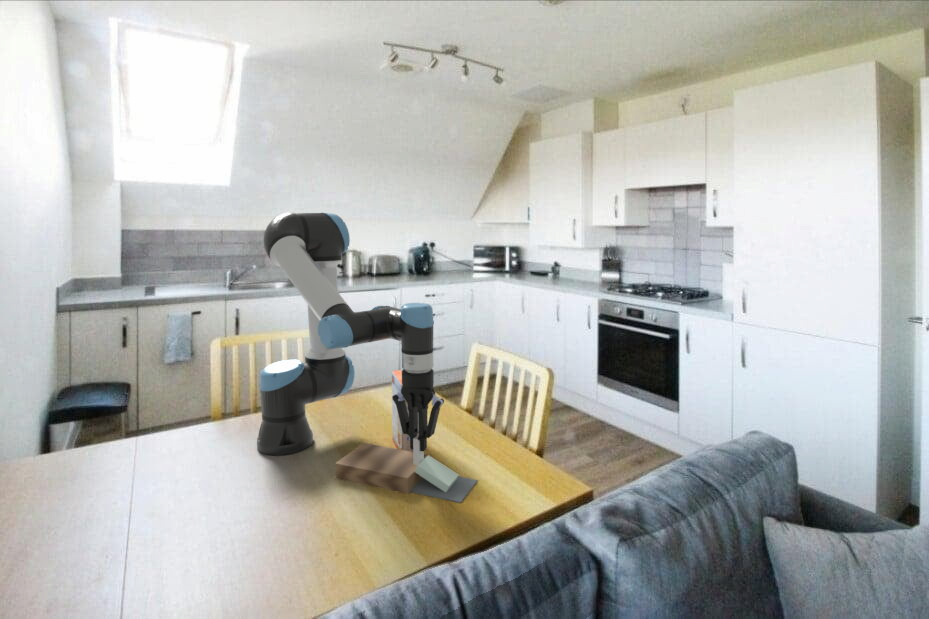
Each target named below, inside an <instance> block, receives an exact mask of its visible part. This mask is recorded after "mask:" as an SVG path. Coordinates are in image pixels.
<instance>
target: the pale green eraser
mask: <svg viewBox="0 0 929 619" xmlns="http://www.w3.org/2000/svg"><path fill="white" fill-rule="evenodd" d="M427 455H428V456H427V457H426V458H425V459H424V460H423V461H422V462H421V463H420V464H418V465H417V468H416V470H415V473H417V474H418V475H420V476H421V477H423V478H424V479H426V480H427V481H429V482H430V483H432V484H433V485H435V486H437V487H438V488H440V489H441V490H443V491H444V492H447V491H448V490H449V489H450V487H451V486H452V485H453V484H454V483H455V482H456V480H457V478H458V476H460V474H458V473H456V472H455V471H454V470H452V469H451V468H449V467H448V466H446V465H444V464H443V463H441V462H440V461H439V460H437V459H435V458H433V457H432V456H431V457H430V456H429V455H430V454H427Z"/></svg>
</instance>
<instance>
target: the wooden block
mask: <svg viewBox="0 0 929 619" xmlns="http://www.w3.org/2000/svg"><path fill="white" fill-rule="evenodd" d="M428 455H429V456H430V457H432V454H427V453H424V459H425V458H426V457H427V456H428ZM334 467H335V479H338V480H341V481H342V480H343V481H347V482H350V483H355V484H361V485H365V486H369V487H373V488H378V489H382V490H387V491H392V492H397V493H401V494H405V495H409V494H410V493H411V492H410V490H411V489H412V488H413V487H414V486H415V485H416V484H417V483H418V482H419V481H420V480H421V479H422V478H423V477H421V476H420V475H418V474H417V473H415V470H416V468H417V465H416V464H413V452H411V451H405V450H400V449H397V448H394V447H390V446H389V447H388V446H383V445H378V444H372V443H367V442H363V443H362V444H360V445H359V446H357V447H356V448H354V449H353V450H351V451H350V452H349V453H347V454H346V455H345V456H343V457H341V458H340V459H339V460H337V461H336V462H335V466H334Z"/></svg>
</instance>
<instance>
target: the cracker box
mask: <svg viewBox="0 0 929 619" xmlns="http://www.w3.org/2000/svg"><path fill="white" fill-rule="evenodd" d="M402 370H403V369H400V370H392V371H391V421H392V422H391V424H392V428H391V430H392V431H391V435H392V436H391V437H392V441H393V444H394V445H395V447H396V449H400V450H405V451H411V452H413V450H412V449H411V448H410V436H409V435H407V434H403V432H402V428H401V424H400V419H399V415H398V411H397V406H396V404H395V402H394V400H393V398H392V396H393V395H395V394H397V393H400V392H401V389H402V386H403V385H402ZM404 400H405V398H404ZM405 403H406V407H407V412H408V416H409V411H408V403H407V402H406V400H405ZM418 431H419V418H418ZM417 435H419V433H418V434H417Z"/></svg>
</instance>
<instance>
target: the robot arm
mask: <svg viewBox="0 0 929 619" xmlns="http://www.w3.org/2000/svg"><path fill="white" fill-rule="evenodd" d="M349 246H350V232H349V229H348V226H347V224H346V222H345V221H344V220H343V218H342V217H341V216H339V215H338V214H335V213H328V212H296V213H295V212H284V213H282V214H280V215H278V216H276V217H275V218H273V219H272V220H271V221H270V222H269V223H268V225H267V226H266V229H265V231H264V233H263V247H264V251H265V253H266V255H267V257H268V258H269V259H270V261H271V262H272V264H274V265H275V266H277V267H280V268H281V269H282V271H283V272H284V274H285V275H286V276H287V277H288V279H289V280H290V282H291V283H292V285H293V286H294V287H295V289H296V291H298V293H299V294H300V296H301V297H302V298H303V300H304V302H306V304H307V317H308V318H307V319H308V320H307V321H308V338H309V339H308V340H309V350H308V351H306V352H305V354H304V362H303V361H302V360H300V359H296V358H295V359H293V358H291V359H287V360H286V359H282V360H278V361H275V362H273V363H270V364H268V365H266V366H265V367H264V368H262V370H261V371H260V373H259V385H258V387H259V393H260V406H261V424H260V428H259V431H258V436H257V438H256V448H257V450H258V451H259V452H260V453H262V454H265V455H270V456H284V455H285V456H286V455H291V454H295V453H299V452H301V451H303V450H305V449H308V448H309V447H311V445H312V444H313V443H314V433H313V431H312V429H311V427H310V424H309V421H308V418H307V415H306V405H308V404H311V403H315V402H319V401H322V400H326V399H331V398H337V397H339V396H340V395H344V394H346V393H348V392H349V390H351V388H352V387H353V384H354V381H355V367H354V364H353V361H352V359H351V358H350V357H349V356H348V355H346V351H345V350H344V349H345V348H348V347H353V346H356V345H362V344H366V343H367V344H368V343H373V342H378V341H384V340H388V339H389V340H390V339H391V340H395V341H400V344H401V347H400V348H401V349H400V350H401V368H402V369H401V370H402V385H403V386H402V389H401V392H400V393H397V394H395V395H393V396H392V395H391V399H392V398H393V400H394V402H395V404H396V406H397V411H398V415H399V419H400V424H401V428H402V432H403V434H407V435H409V436H410V448H411V449H412V450H413V464H416V465H418V464H420V463H421V462H422V461H423V460H424V454H425V453H424V452H425V451H426V450H427V448H428V439H429V438H431V437H432V436H433V435H435V431H436V428H437V424H438V423H437V422H438V419H439V415H440V410H441V407H442V405H444V403H445V400H444V398H442V397H441V398H439V397H438V396H437V395H436V391H435V389H434V385H435V384H434V380H435V379H434V375H435V374H434V373H435V372H434V369H433V368H434V364H435V363H434V361H435V360H434V325H435V324H434V323H435V320H434V312H433V311H434V310H433V306H432V305H430V303H424V302H409V303H407V302H406V303H404V304H402V305H401V307H400V308H397V307H393V306H390V305H377V306H374V307H373V308H372V309H370V310H365V311H364V310H363V311H353V309H352V308H351V307H350V306H349V304H348V303H347V302H346V301H345V299H344V298H343V297H342V296H341V294H340V293H339V291H338V290H339V289H338V288H339V287H338V265H339V264H340V263H341V262H342V261H343V259H342V255H343V254H345V253H346V252H347V251H348V250H349ZM404 398H405V400H406V402H407V403H408V411H409V416H408V412H407V407H406V403H405V400H404ZM430 403H431V406H432V408H431V410H430V414H429V418H428V409H429V405H430ZM418 418H419V431H418ZM418 433H419V435H417V434H418Z"/></svg>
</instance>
